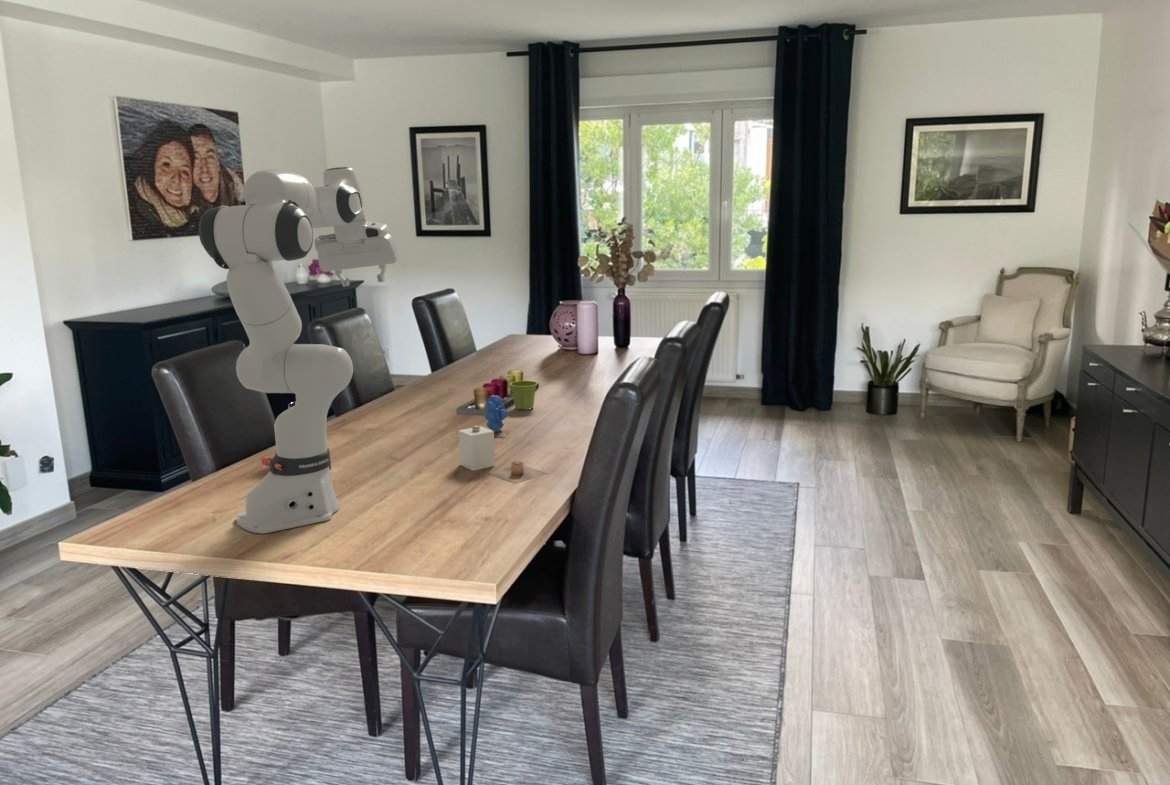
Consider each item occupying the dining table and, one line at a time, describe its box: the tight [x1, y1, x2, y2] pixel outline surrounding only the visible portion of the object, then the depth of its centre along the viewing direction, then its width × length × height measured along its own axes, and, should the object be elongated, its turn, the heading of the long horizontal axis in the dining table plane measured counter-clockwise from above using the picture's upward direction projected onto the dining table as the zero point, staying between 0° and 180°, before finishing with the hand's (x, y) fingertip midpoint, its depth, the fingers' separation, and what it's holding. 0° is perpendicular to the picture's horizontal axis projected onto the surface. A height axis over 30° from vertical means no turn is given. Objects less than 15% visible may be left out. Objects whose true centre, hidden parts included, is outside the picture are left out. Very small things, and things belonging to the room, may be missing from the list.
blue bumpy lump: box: [484, 394, 509, 434], centre depth 260 cm, size 12×7×12 cm, turn 164°
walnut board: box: [487, 464, 549, 484], centre depth 220 cm, size 11×11×1 cm
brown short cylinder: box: [510, 460, 525, 476], centre depth 220 cm, size 3×3×3 cm
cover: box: [457, 424, 496, 472], centre depth 226 cm, size 7×7×11 cm
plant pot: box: [509, 380, 538, 410], centre depth 290 cm, size 9×9×9 cm
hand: (364, 283), depth 225 cm, fingers open, 8 cm apart
